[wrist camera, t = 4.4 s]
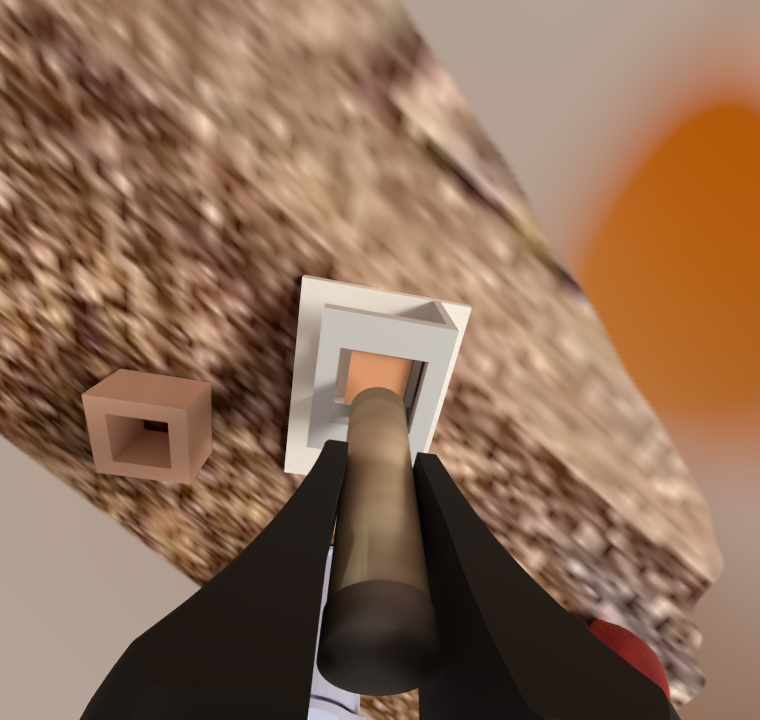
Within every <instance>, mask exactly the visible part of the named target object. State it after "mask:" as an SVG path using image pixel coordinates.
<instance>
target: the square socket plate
mask: <svg viewBox="0 0 760 720" xmlns="http://www.w3.org/2000/svg"><path fill="white" fill-rule="evenodd" d="M470 312H471V306H470V305H468V304H462V303H457V302H451V301H446V300H440V299H435V298H429V297H424V296H418V295H413V294H407V293H402V292H396V291H391V290H385V289H380V288H374V287H369V286H363V285H358V284H352V283H347V282H341V281H336V280H330V279H325V278H319V277H314V276H308V275H304V276H303V277H302V286H301V297H300V308H299V318H298V329H297V340H296V351H295V361H294V372H293V383H292V394H291V404H290V415H289V426H288V437H287V447H286V458H285V469H284V472H288V473H295V474H303V475H308V473H309V472H310V470H311V469H312V467H313V465H314V464H315V462H316V460H317V459H318V457H319V455H320V453H321V451H322V449H323V446H324V444H325V442H326V441H327V440H329V439H331V440H338V441H345V442H346V439H347V430H348V422H349V414H350V407H351V404H344V396H345V390H346V384H347V378H348V372H349V366H350V360H351V354H352V350H358V351H364V352H370V353H376V354H382V355H388V356H394V357H400V358H406V359H412V365H411V369H410V373H409V377H408V381H407V385H406V389H405V393H404V397H403V404H404V409H405V416H406V423H407V430H408V438H409V445H410V452H411V460H412V467H413V465H414V462H415V458H416V455H417V452H422V453H428V451H429V448H430V444H431V441H432V438H433V434H434V431H435V428H436V424H437V421H438V418H439V414H440V411H441V408H442V404H443V401H444V398H445V394H446V391H447V388H448V384H449V381H450V378H451V375H452V371H453V368H454V365H455V361H456V358H457V355H458V351H459V348H460V345H461V341H462V338H463V335H464V331H465V328H466V325H467V321H468V318H469V315H470Z"/></svg>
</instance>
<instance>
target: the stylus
mask: <svg viewBox="0 0 760 720" xmlns="http://www.w3.org/2000/svg"><path fill="white" fill-rule="evenodd" d="M346 442H349V444H348V457H347V463H346V468H345V473H344V479H343V484H342V488H341V493H340V498H339V503H338V512H337V520H336V528H335V536H334V544H333V552H332V560H331V568H330V576H329V585H328V593H327V601H326V604H325V606H324V609H323V613H322V621H321V628H320V636H319V644H318V652H317V660H316V664H317V668H318V671H319V673H320V674H321V676H322V677H323V678H324V679H325V680H326V681H328V682H329V683H330V684H332V685H333V686H335V687H337V688H339V689H342V690H344V691H347V692H351V693H355V694H360V695H368V696H386V695H395V694H400V693H405V692H408V691H411V690H414V689H416V688H419V687H421V686H423V685H425V684H426V683H428V682H429V681H430V680H431V679H433V678H434V677H435V676H436V674H437V673H438V671H439V670H440V667H441V663H442V658H441V650H440V643H439V637H438V630H437V623H436V616H435V609H434V606H433V604H432V602H431V598H430V590H429V583H428V576H427V569H426V561H425V554H424V547H423V540H422V532H421V525H420V518H419V510H418V503H417V496H416V489H415V481H414V474H413V467H412V460H411V452H410V445H409V438H408V430H407V423H406V416H405V409H404V404H403V401H402V399H401V398H400V397H399V396H398V395H397V394H396V393H395V392H393V391H392V390H390V389H387V388H383V387H372V388H368V389H365V390H363V391H361V392H360V393H359V394H357V395H356V396H355V398H354V399H353V401H352V403H351V407H350V414H349V422H348V430H347V439H346Z"/></svg>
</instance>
